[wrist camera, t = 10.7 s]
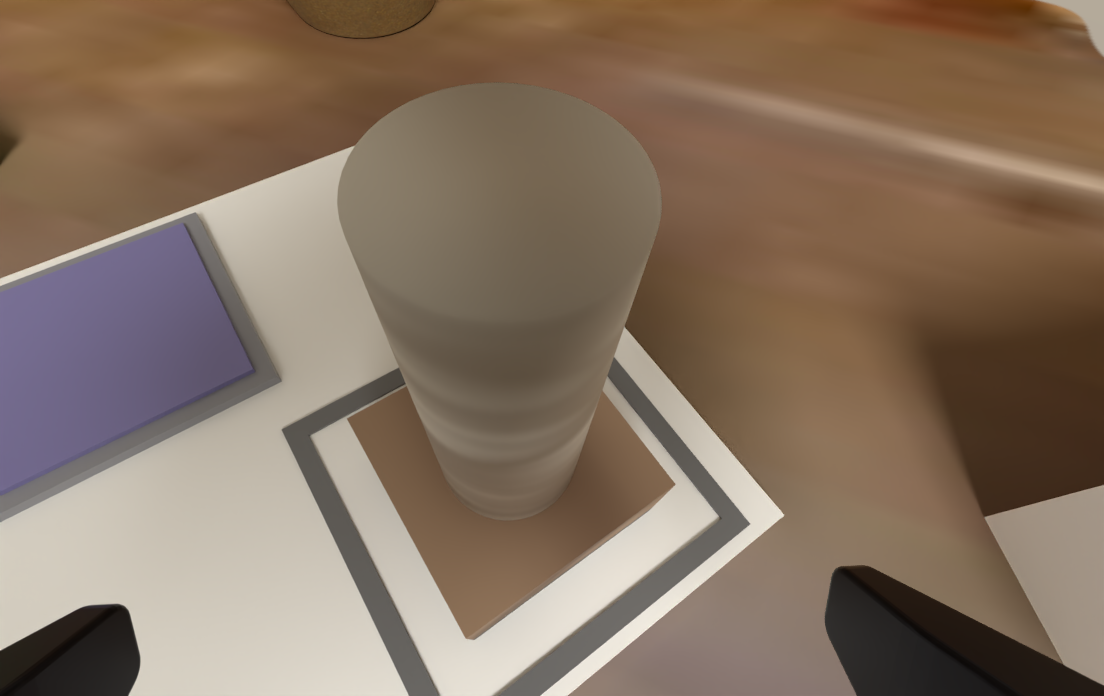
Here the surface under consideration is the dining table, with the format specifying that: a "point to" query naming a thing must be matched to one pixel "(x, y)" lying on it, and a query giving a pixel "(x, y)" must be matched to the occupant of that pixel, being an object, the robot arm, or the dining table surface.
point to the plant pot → (361, 15)
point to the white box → (1061, 571)
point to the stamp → (503, 332)
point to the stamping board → (289, 472)
